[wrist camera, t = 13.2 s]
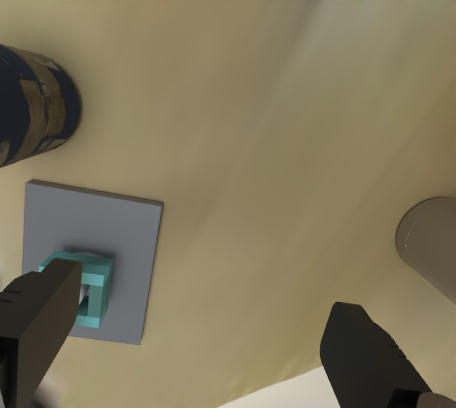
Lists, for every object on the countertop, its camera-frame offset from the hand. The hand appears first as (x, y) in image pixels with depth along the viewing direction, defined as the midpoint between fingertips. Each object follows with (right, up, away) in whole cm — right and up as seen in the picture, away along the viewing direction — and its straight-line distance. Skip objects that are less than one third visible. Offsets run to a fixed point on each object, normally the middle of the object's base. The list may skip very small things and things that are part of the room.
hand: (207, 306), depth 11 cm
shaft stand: (-15, -4, +30) cm, 34 cm away
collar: (-15, -5, +26) cm, 31 cm away
